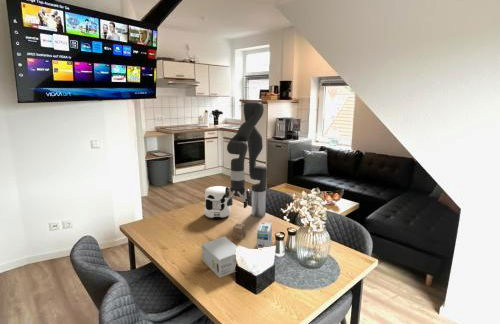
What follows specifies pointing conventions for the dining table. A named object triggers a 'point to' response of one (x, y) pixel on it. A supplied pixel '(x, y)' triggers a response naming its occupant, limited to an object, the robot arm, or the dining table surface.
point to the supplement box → (220, 256)
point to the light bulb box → (264, 235)
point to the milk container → (216, 203)
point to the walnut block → (239, 231)
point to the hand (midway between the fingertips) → (237, 206)
